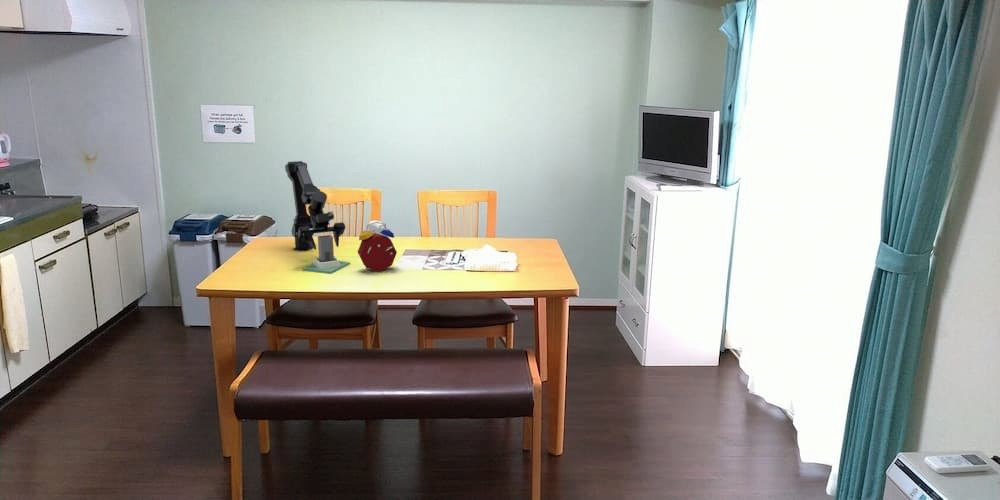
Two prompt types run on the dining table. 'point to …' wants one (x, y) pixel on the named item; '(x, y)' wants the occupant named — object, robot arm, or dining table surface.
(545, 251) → the dining table surface
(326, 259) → the grey rectangular block
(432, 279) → the dining table surface
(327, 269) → the header board
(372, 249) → the alarm clock
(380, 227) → the photo printer
